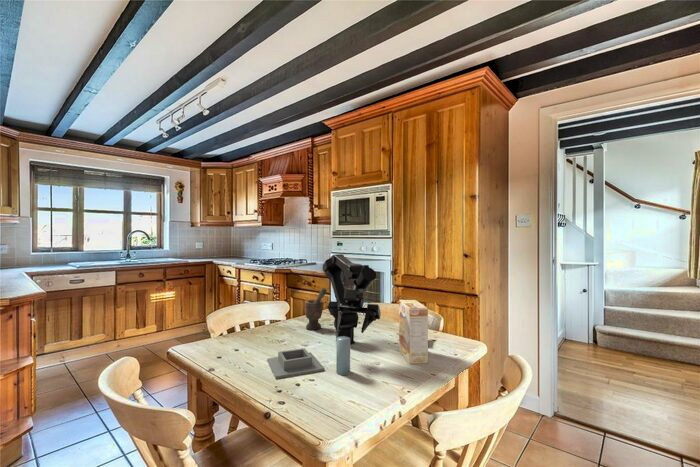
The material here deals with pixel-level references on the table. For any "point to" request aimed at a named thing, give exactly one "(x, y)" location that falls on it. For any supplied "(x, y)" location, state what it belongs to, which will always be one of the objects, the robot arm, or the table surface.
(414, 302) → the coffeecake box
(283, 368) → the grey square socket base
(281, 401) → the table surface
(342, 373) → the pale blue rounded cylinder
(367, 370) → the table surface
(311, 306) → the mortar and pestle
